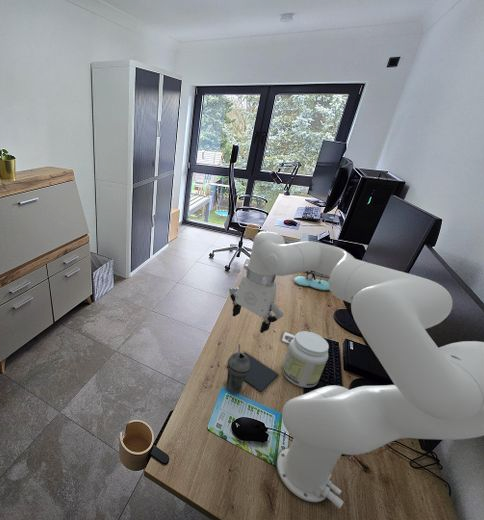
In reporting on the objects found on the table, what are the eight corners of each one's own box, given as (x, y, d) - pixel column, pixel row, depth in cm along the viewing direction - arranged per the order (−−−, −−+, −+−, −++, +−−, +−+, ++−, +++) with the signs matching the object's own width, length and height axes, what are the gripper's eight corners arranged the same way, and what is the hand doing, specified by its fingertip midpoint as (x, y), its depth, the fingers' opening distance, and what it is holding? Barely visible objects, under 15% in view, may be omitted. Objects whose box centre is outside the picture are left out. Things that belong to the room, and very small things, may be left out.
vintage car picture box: (322, 346, 121) (326, 338, 119) (321, 356, 116) (325, 347, 114) (284, 332, 128) (286, 324, 126) (281, 341, 123) (284, 333, 121)
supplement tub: (312, 366, 111) (326, 332, 103) (321, 393, 101) (337, 357, 93) (278, 359, 114) (289, 326, 106) (283, 384, 103) (296, 349, 96)
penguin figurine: (292, 285, 164) (300, 261, 157) (293, 276, 173) (300, 254, 166) (333, 294, 156) (343, 270, 149) (332, 285, 164) (341, 261, 158)
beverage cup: (245, 398, 98) (256, 355, 89) (223, 394, 100) (232, 351, 90) (242, 381, 105) (253, 339, 96) (222, 377, 106) (230, 336, 97)
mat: (277, 375, 107) (278, 374, 107) (260, 392, 101) (260, 391, 100) (244, 353, 117) (245, 352, 117) (226, 367, 110) (227, 366, 110)
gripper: (227, 267, 86) (219, 313, 93) (283, 293, 74) (268, 343, 81) (242, 260, 90) (233, 304, 98) (297, 283, 78) (282, 332, 86)
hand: (249, 322), depth 90 cm, fingers open, 9 cm apart
